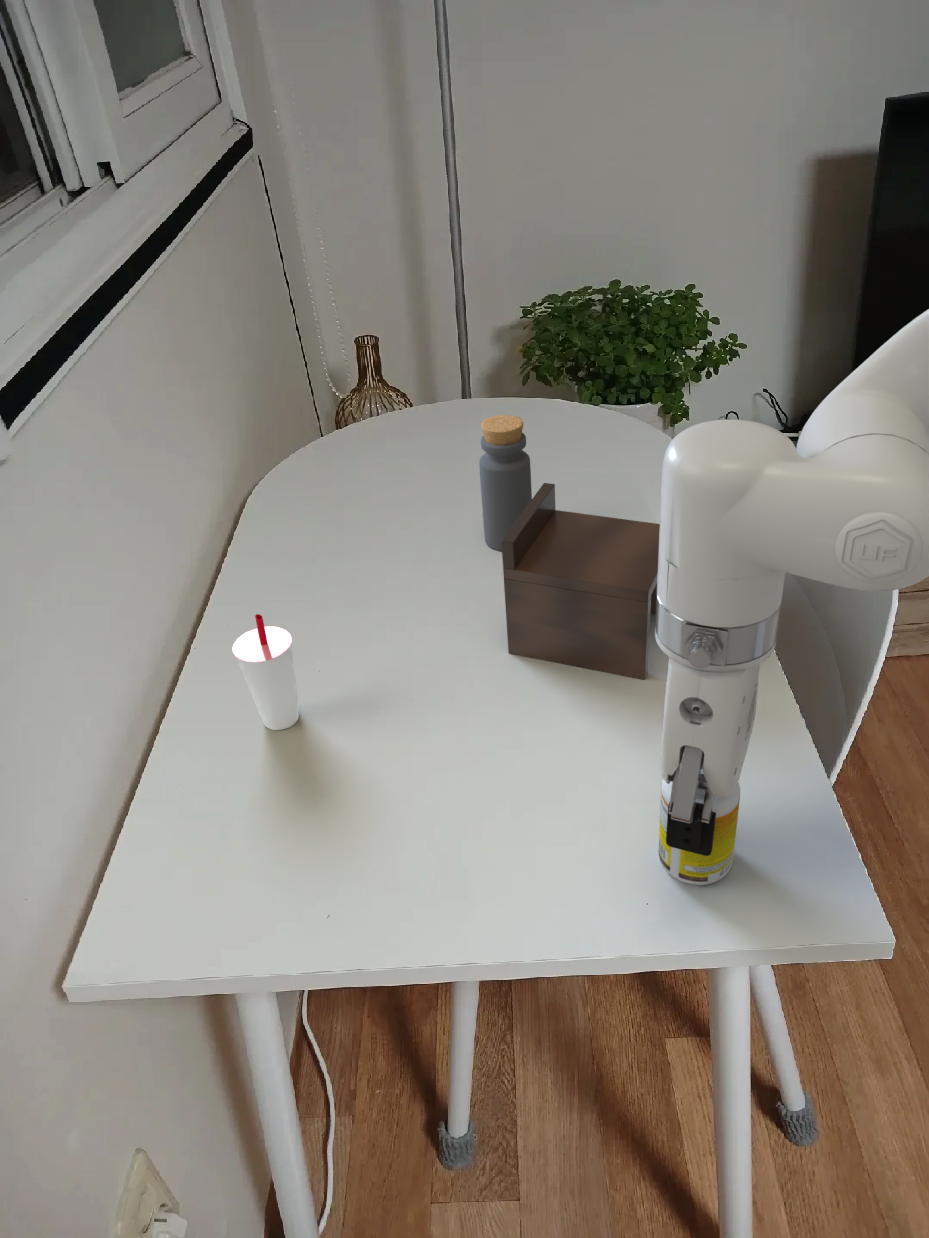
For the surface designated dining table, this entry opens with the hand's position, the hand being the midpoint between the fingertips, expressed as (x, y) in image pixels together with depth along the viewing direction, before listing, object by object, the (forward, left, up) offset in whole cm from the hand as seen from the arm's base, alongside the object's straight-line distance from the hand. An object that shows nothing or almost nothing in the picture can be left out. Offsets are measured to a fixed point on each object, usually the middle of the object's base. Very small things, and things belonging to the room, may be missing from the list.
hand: (698, 815), depth 70 cm
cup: (+40, -4, -5) cm, 41 cm away
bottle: (+31, -41, -5) cm, 52 cm away
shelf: (+16, -26, -5) cm, 31 cm away
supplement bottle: (0, 0, -5) cm, 5 cm away
